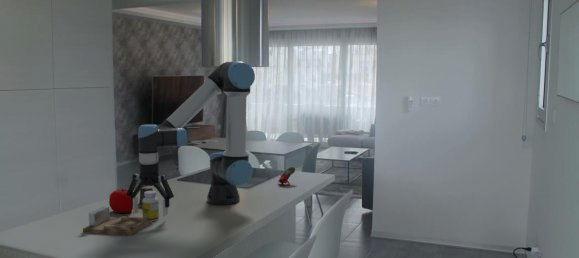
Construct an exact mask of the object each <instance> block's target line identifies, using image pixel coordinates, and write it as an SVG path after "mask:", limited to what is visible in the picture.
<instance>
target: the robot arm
mask: <svg viewBox="0 0 579 258" xmlns="http://www.w3.org/2000/svg"><path fill="white" fill-rule="evenodd" d="M255 73H256V72H255V71H254V68H253V67H252V66H251V65H250V64H249V63H247V62H245V61H240V60H238V61H237V60H236V61H226V62H223V63H221V64H220V65H219V66H217V68H215V69H214V70H213V71H212V72H211V73H210V74H209V75H208V76H207V77H206V78H205V79H204V80H205V81H204V83H202V85H200V86H199V87H198V89H196V90H195V91H194V92H192V93H193V94H191V95H190V96H189V97H188V98H187V99H185V101H184V102H183V103H182V104H180V106H179V107H178V108H177V109H175V110H174V112H173V113H171V114H170V116H168V117H167V118H166V119H165V120H164V121H163V122H162V123H160V124H141V125H139V127H138V133H137V134H138V136H137V139H138V156H139V157H138V159H139V173H138V172H136V173H133V174H132V179H131V182H130V185H129V187H128V189H127V190H128V192H127V194H126V195H127V196H129V197H131V205H133V210H132V214H133V215H134V214H135V215H136V214H137V213H139V198H138V197H139V196H138V194H140V190H141V189H142V188H144V186H145V187H148V186H150V187H152V186H153V187H154V188H155V189H156V191H158V193H159V194H160V195H161V197H162V198H163V199H162V216H163V217H165V216H167V215H169V207H170V206H171V205H170V199H172V198H174V197H175V195H174V193H173V191H172V188H171V186H170V184H169V182H168V180H167V175H166V174H163V175H159V171H160V169H159V167H160V165H159V163H158V162H159V148H170V147H171V148H172V147H177V148H179V147H182V146H186V145H187V143H188V132H187V130H186V129H185V128H184V127H185V126H186V125H187V124H188V123H190V121H191V120H192V119H194V117H196V115H197V114H199V112H200V111H201V110H202V109H204V108H205V107H206V106H207V105H208V104H209V103H210V102H211V101H212V100H213V99H214V98H215V97H216V96H217V95H221V94H222V93H224V94H225V95H226V122H225V123H226V128H225V129H226V131H225V132H226V133H225V138H226V139H225V151H221V152H213V153H211V154H210V156H209V169H210V170H209V171H210V172H209V173H210V174H209V175H210V186H209V189H208V191H207V192H208V193H207V195H206V196H207V197H206V202H207V203H208V204H212V205H230V204H236V203H238V202H240V199H241V198H240V193H239V189H238V187H237V186H244V185H245V184H247V183H248V182H249V181H250V179H251V178H252V176H253V166H252V164H251V163H250V162H249V155H250V154H249V153H248V152H247V150H246V141H247V140H246V137H247V135H246V134H247V133H246V132H247V97H248V96H249V95H250V93H251V86H253V84H254V83H255V79H256V75H255ZM139 179H140V182H139V183H138V180H139ZM137 183H138V185H137ZM136 186H137V187H136Z"/></svg>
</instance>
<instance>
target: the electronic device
mask: <svg viewBox="0 0 579 258" xmlns="http://www.w3.org/2000/svg"><path fill="white" fill-rule="evenodd" d="M146 191H154V189H153V188H152V187H142V189H141V190H140V191H139V204H142V200H143V199H144V198H145V196H144V192H146Z"/></svg>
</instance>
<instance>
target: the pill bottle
mask: <svg viewBox="0 0 579 258" xmlns="http://www.w3.org/2000/svg"><path fill="white" fill-rule="evenodd" d="M144 196H145V198H144V199H143V200H142V203H141V205H142V207H141V208H142V209H141V210H142V218H150V220H152V222H155V221H158V220H159V218H160V211H159V210H160V209H159V207H160V206H159V205H160V203H159V198H158V197H157V190H156V191H155V190H153V191H146V192H144Z"/></svg>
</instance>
